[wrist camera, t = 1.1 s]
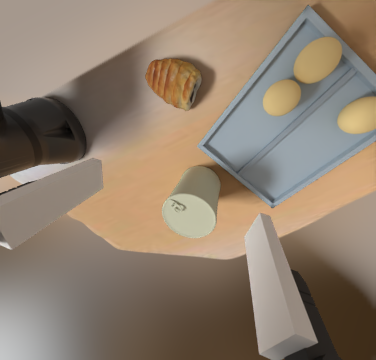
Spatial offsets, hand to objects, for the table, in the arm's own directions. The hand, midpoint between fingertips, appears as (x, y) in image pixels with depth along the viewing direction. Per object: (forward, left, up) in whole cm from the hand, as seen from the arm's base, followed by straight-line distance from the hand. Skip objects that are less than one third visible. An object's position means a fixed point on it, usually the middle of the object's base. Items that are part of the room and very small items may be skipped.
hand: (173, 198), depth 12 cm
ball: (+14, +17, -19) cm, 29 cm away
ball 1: (+4, +12, -19) cm, 23 cm away
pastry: (-10, +5, -21) cm, 23 cm away
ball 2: (+4, +17, -19) cm, 26 cm away
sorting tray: (+9, +10, -20) cm, 24 cm away
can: (+5, -8, -20) cm, 22 cm away
